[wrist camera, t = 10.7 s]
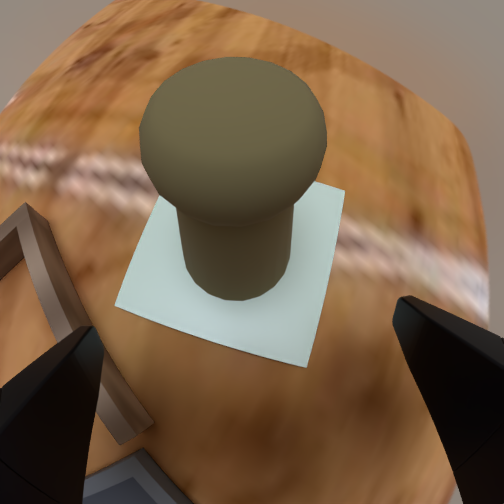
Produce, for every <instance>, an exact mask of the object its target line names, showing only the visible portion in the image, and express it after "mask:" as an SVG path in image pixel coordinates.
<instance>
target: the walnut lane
mask: <svg viewBox="0 0 504 504" xmlns="http://www.w3.org/2000/svg"><path fill="white" fill-rule="evenodd" d="M24 257H25V260H26V263H27V266H28V269H29V272H30V275H31V278H32V281H33V284H34V287H35V290H36V292H37V295H38V298H39V300H40V303H41V306H42V308H43V311H44V313H45V315H46V318H47V320H48V323H49V325H50V327H51V329H52V332H53V334H54V336H55V338H56V340H57V342H60V341H61V340H62V339H64V338H65V337H66V336H68V335H69V334H70V333H72V332H73V331H74V330H76V329H77V328H78V327H80V326H82V325H92V323H91V321H90V319H89V317H88V315H87V313H86V311H85V309H84V307H83V305H82V303H81V301H80V299H79V297H78V295H77V293H76V291H75V288H74V286H73V284H72V282H71V280H70V277H69V275H68V273H67V270H66V268H65V266H64V263H63V261H62V258H61V256H60V253H59V251H58V248H57V245H56V243H55V240H54V237H53V235H52V232H51V229H50V226H49V223H48V221H47V220H46V219H45V218H44V217H42V216H41V215H40V214H39V213H38V212H37V211H35V210H34V209H33V208H32V207H31V206H30V205H28V204H27V203H26V202H25V203H24V204H23V205H21V206H20V207H19V208H18V209H17V210H16V211H15V212H14V213H13V214H12V215H11V216H10V217H8V218H7V219H6V220H5V221H4V222H3V223H2V224H1V225H0V280H1V279H2V278H3V277H4V276H5V275H6V274H7V273H8V272H9V271H10V270H11V269H12V268H13V267H14V266H15V265H16V264H17V263H18V262H19V261H21V260H22V259H23V258H24ZM92 326H93V325H92ZM102 344H103V343H102ZM103 347H104V345H103ZM96 412H97V414H98V415H99V417H100V419H101V420H102V422H103V423H104V424H105V426H106V427H107V429H108V430H109V432H110V433H111V434H112V436H113V437H114V439H115V440H116V441H117V443H118V444H119V445H121V444H123V443H125V442H127V441H129V440H130V439H132V438H134V437H136V436H137V435H139V434H140V433H141V432H143V431H144V430H145V429H147V428H148V427H149V426H151V425H152V424H153V423H154V421H153V420H152V419H151V417H150V416H149V415H148V413H147V412H146V410H145V409H144V408H143V406H142V405H141V403H140V402H139V401H138V399H137V398H136V396H135V395H134V393H133V392H132V390H131V389H130V387H129V386H128V384H127V383H126V381H125V380H124V378H123V377H122V375H121V373H120V372H119V370H118V369H117V367H116V365H115V364H114V362H113V360H112V359H111V357H110V355H109V354H108V352H107V350H106V349H105V347H104V359H103V366H102V374H101V382H100V391H99V398H98V403H97V408H96Z"/></svg>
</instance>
